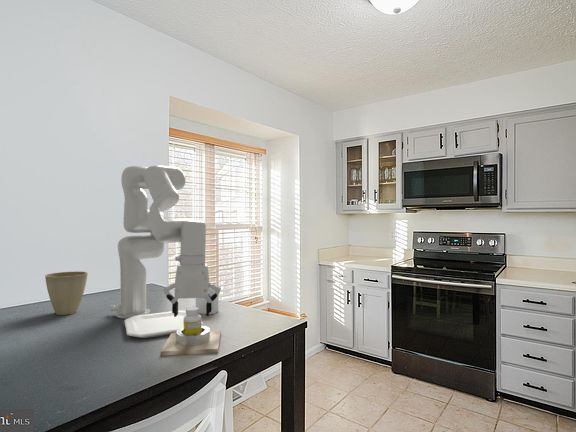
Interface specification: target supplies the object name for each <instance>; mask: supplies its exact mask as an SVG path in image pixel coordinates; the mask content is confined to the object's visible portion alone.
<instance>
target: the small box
mask: <svg viewBox="0 0 576 432" xmlns="http://www.w3.org/2000/svg"><path fill="white" fill-rule="evenodd" d="M214 293H215V290H213V289H211V288H209V295H210V296H212V295H213V294H214ZM206 304H207V300H206V299H205V298H195V307H197V308H199V313H198V314H199V315H201V314H202V315H205V314H206ZM218 311H219V295H218V296H217V298H216V299H215V300H213V301H212V310H211V313H209V315H215V314H216V313H217V312H218Z"/></svg>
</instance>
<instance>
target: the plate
mask: <svg viewBox="0 0 576 432" xmlns="http://www.w3.org/2000/svg"><path fill="white" fill-rule="evenodd" d="M186 315H187V314H186V310H179V309H178V315H177V316H176V317H174V313H172V310H171V311H163V312H156V313H150V314H145V315H137V316H133V317H130V318H128V319H124V321H123V322H124V326H125V330H126V331H125V332H126V336H130V337H134V338H141V339H149V338H155V337H164V336H170V335H171V333H176V332H177V330H178V329H181V328H183V327H184V317H185V316H186ZM202 326H204V322H203V321H202Z"/></svg>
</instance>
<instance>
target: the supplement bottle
mask: <svg viewBox="0 0 576 432" xmlns="http://www.w3.org/2000/svg"><path fill="white" fill-rule="evenodd" d="M185 311H186V314H187V315H186V316H185V317H184V334H188V335H191V334H199V333H202V326H203V325H202V322H203V321H202V315H201V314H198V313H199V308H197V307H196V306H194V307H193V306H191V307H187V308H186V309H185Z"/></svg>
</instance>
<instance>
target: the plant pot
mask: <svg viewBox="0 0 576 432" xmlns="http://www.w3.org/2000/svg"><path fill="white" fill-rule="evenodd" d="M88 273H89V272H87V271H81V270H80V271H61V272H52V273H48V274H45V276H44V277H45V285H46V289H47V293H48V297H49V300H50V304H51V306H52V308H53V311H54V314H56V315H58V316H65V315H66V316H67V315H73V314H76V313H77V312H78V310H79V307H80V306H81V302H82V299H83V296H84V293H85V290H86V289H85V288H86V285H87V280H88Z"/></svg>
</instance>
